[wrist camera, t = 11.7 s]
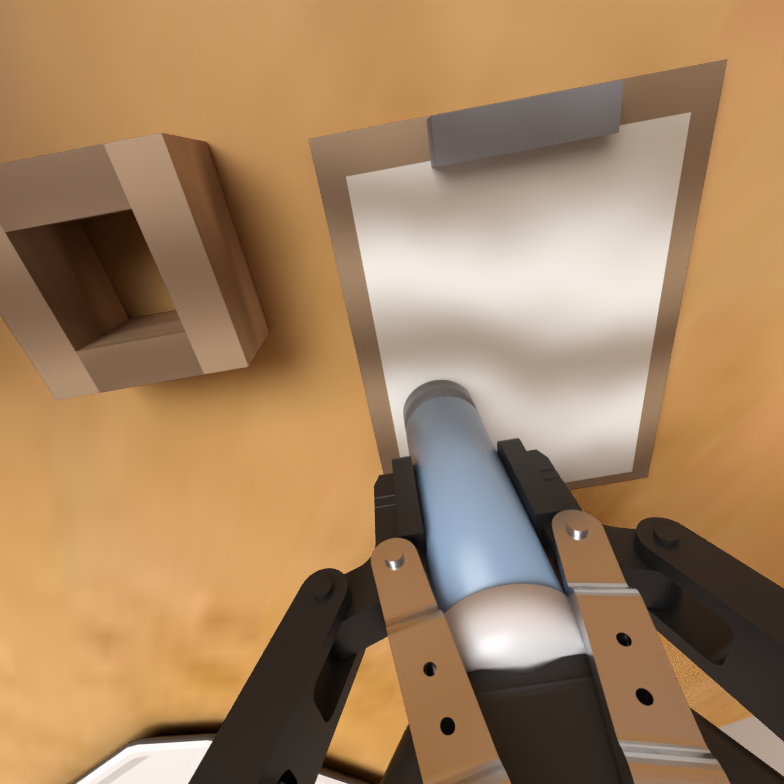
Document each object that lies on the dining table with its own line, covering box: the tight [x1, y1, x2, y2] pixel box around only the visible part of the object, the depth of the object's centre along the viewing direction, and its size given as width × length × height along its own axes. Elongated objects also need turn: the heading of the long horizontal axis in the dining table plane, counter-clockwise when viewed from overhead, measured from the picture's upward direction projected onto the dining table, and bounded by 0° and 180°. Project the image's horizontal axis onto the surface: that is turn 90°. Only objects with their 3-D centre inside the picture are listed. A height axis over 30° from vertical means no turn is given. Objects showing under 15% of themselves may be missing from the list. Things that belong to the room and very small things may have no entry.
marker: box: [403, 380, 587, 675], centre depth 13 cm, size 3×3×11 cm
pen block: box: [0, 133, 269, 400], centre depth 14 cm, size 7×7×4 cm
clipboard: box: [309, 59, 727, 490], centre depth 17 cm, size 18×14×2 cm
